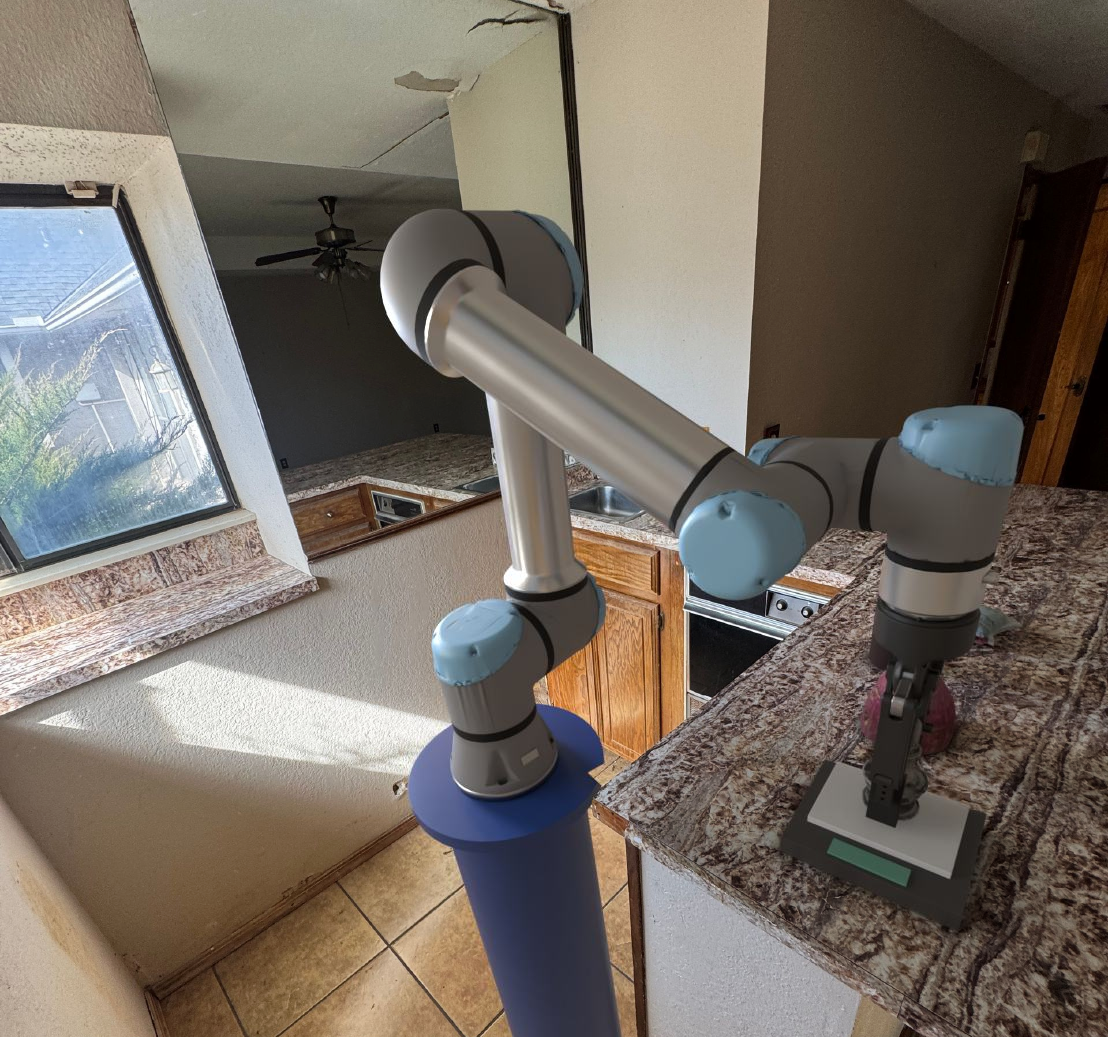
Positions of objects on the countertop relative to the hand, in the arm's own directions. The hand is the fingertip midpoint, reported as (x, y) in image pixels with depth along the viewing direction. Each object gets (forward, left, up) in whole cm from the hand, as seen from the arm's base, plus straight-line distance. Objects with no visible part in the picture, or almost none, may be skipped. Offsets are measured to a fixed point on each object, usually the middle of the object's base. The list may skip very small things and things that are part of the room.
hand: (889, 799), depth 59 cm
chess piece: (0, 0, 0) cm, 0 cm away
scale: (0, -2, -5) cm, 5 cm away
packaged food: (0, +48, -5) cm, 49 cm away
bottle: (-7, +34, -5) cm, 36 cm away
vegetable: (-2, +18, -5) cm, 19 cm away
